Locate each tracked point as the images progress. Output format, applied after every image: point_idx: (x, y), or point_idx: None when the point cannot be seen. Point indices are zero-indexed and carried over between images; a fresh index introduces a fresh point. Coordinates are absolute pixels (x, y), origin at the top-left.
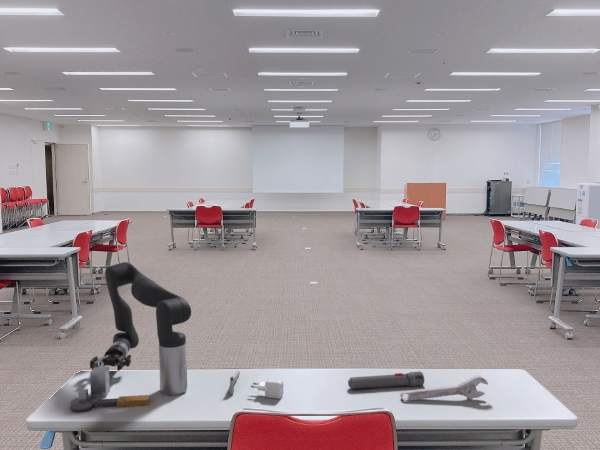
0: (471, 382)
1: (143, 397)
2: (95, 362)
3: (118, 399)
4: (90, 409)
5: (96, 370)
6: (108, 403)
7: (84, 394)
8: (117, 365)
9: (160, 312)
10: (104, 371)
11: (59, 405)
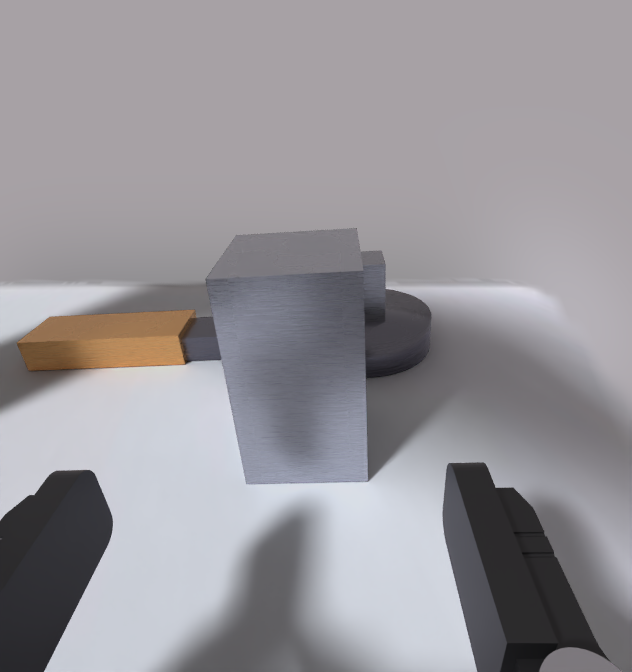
0: None
1: (61, 326)
2: (577, 652)
3: (185, 318)
4: None
5: (316, 244)
6: None
7: None
8: (84, 472)
9: None
10: (243, 239)
11: (511, 355)
